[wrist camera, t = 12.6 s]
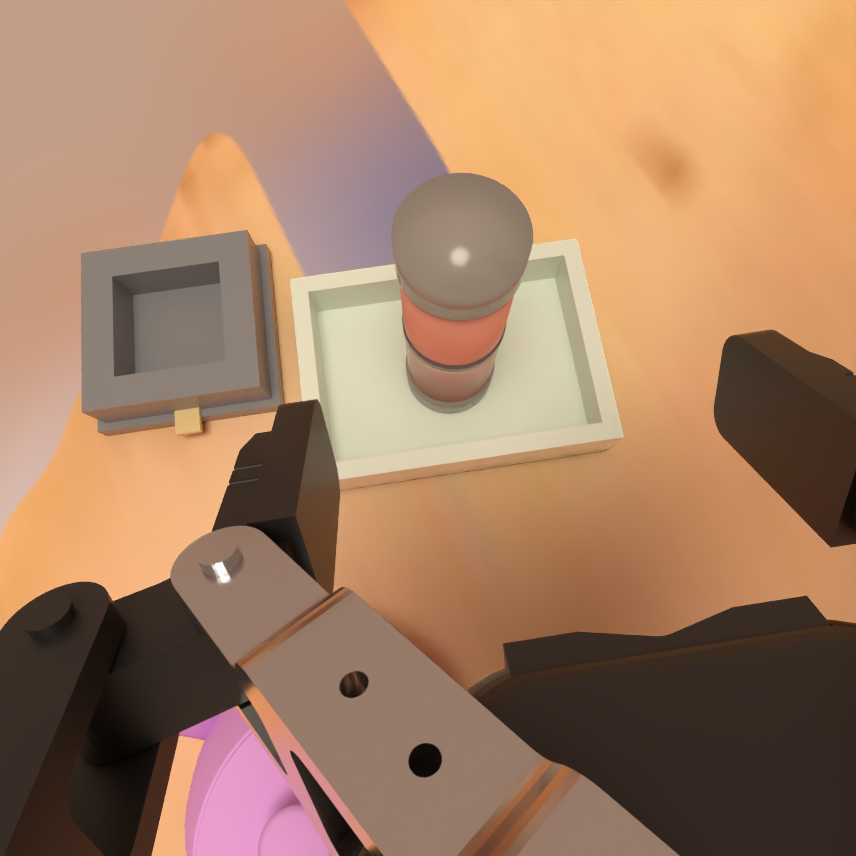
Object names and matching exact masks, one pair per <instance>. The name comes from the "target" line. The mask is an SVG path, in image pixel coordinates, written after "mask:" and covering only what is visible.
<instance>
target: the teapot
mask: <svg viewBox="0 0 856 856" xmlns="http://www.w3.org/2000/svg"><path fill="white" fill-rule="evenodd" d="M179 735H180V736H185V737H190V738H196V739H201V740H205V742H204V744H203V747H202V749H201V752H200V754H199V757H198V760H197V764H196V767H195V771H194V774H193V778H192V782H191V787H190V792H189V796H188V801H187V808H186V818H185V845H186V854H187V856H333V855H332V853H331V852H330V850H329V849H328V847H327V846H326V844H325V843H324V841H323V840H322V838H321V837H320V835H319V833H318V832H317V830H316V829H315V827H314V825H313V824H312V822H311V820H310V819H309V817H308V815H307V813H306V812H305V810H304V808H303V807H302V805H301V803H300V802H299V800H298V798H297V797H296V795H295V794H294V792H293V790H292V789H291V787H290V786H289V784H288V783H287V782H286V780H285V779H284V777H283V776H282V774H281V773H280V771H279V770H278V768H277V767H276V766H275V764H274V763H273V761H272V760H271V758H270V757H269V755H268V754H267V752H266V751H265V750H264V748H263V747H262V745H261V744H260V742H259V741H258V739H257V738H256V736H255V735H254V734H253V732H252V731H251V729H250V728H249V726H248V725H247V723H246V722H245V720H244V719H243V718H242V716H241V715H240V713H239V712H238V710H237V709H236V707H233V708H231V709H229V710H227V711H225V712H223V713H220V714H218V715H216V716H214V717H212V718H210V719H207V720H205V721H203V722H201V723H199V724H197V725H195V726H192V727H190V728H188V729H186V730H184V731H182V732H180V733H179Z"/></svg>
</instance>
